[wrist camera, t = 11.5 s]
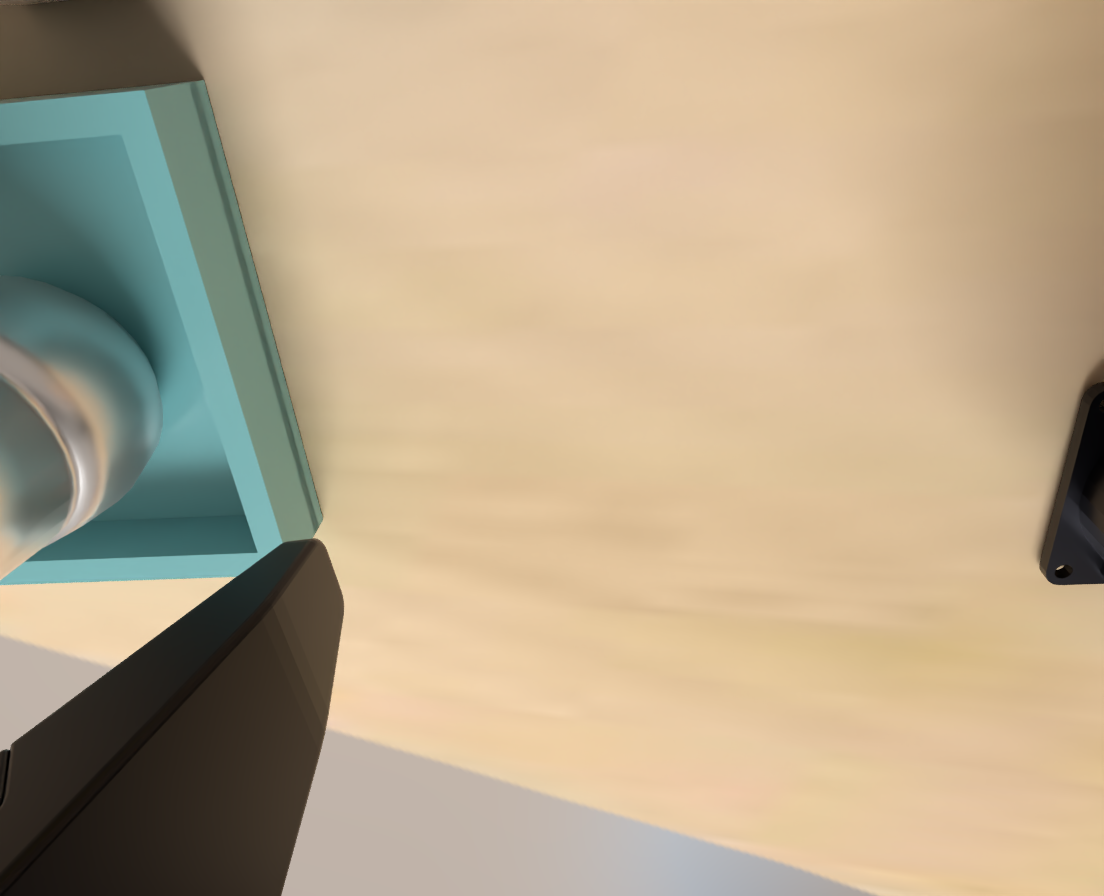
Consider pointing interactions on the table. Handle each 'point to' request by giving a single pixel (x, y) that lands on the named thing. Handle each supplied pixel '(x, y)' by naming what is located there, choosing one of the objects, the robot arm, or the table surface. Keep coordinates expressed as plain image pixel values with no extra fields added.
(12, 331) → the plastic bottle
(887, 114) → the table surface
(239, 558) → the tray
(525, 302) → the table surface
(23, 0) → the open frame
